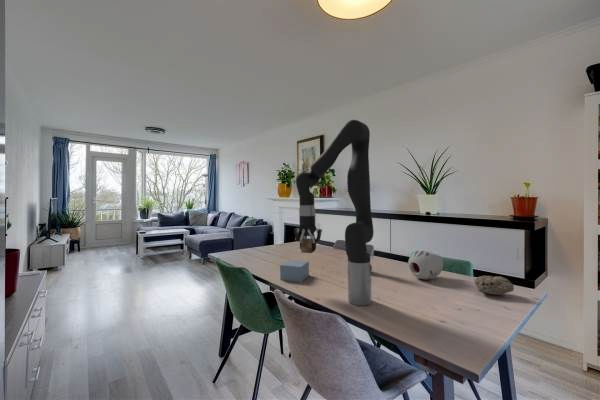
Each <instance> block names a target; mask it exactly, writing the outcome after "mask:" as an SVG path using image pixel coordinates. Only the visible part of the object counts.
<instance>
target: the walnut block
mask: <svg viewBox="0 0 600 400" xmlns="http://www.w3.org/2000/svg"><path fill="white" fill-rule="evenodd" d="M312 243H313V242H312V240H311V238H310V237H308V238H307V237H305V238H304V239H302V240H301V249H300V252H301V253H302V254H303V253H304V254H312V253H314V252H315V251H312Z"/></svg>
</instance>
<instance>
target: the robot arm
mask: <svg viewBox="0 0 600 400" xmlns="http://www.w3.org/2000/svg"><path fill="white" fill-rule="evenodd" d="M370 135H371V134H370V128H369V126H368V125H367V124H365V123H364V122H362V121H360V120H358V119H351V120H348V121H347V122H346V123H345V124H344V126H342V128H341V129H340V130H339V132H338V133H337V135H336V136H335V137H334V139H333V140H332V142H330V144H329V145H328V146H327V148H326V149H325V150H324V151H323V152H322V154H320V156H319V157H318V158H316V159H315V161H313V163H311V165H310V171H309V172H306V171H305V172H304V171H303V172H299V173H298V174H297V176H296V179H295V186H296V189H297V193H298V196H299V209H298V210H299V211H298V215H299V217H298V218H299V220H298V221H299V227H296V228H294V229H293V233H294V238H295V241H296V242H297V243H299V249H300V250H301V240H302V239H304V238H306V237H309V238H311V240H312V242H313V243H312V251H314V252H315V251H316V249H317V243H318V242H320V240H321V236H322V232H323V229H322V228H317V226H316V207H315V195H314V192H311V191H310V190H311V189H310V188H313V187H314V186H317V184H318V183H319V181H320V180H321V178H322V177H323V175H324V174H326V173H327V171H329V170H330V169H331V168H332V166H333V165H334V164H335V163H336V161H337V160H338V157H339V156H340V154H341V153H342V152H343V151H344V150H345V149H346V148H347V147H349V146H350V145H351V161H350V165H349V166H348V167H349V168H348V170H347V174H346V175H347V177H346V180H347V193H348V196H349V198H350V201H351V202H352V204H353V205H352V206H354V210H355V222H352V223H349V224H348V225H347V226H346V227H345V231H344V232H345V233H344V243H345V244H344V245H345V254H346V256H347V288H348V289H347V294H348V295H347V298H348V299H347V301H348V303H350V304H351V305H356V306H371V303H372V277H371V274H372V273H371V272H370V264H371V254H370V253H368V252H367V253H366V252H365V246H364V244H365V243H366V244H368V243H369V242H371V241H372V240H373V238H374V234H375V233H374V232H375V231H374V223H373V217H372V207H371V206H372V205H371V203H372V202H371V178H370V160H369V159H370V158H369V157H370V155H369V150H370ZM315 232H316V235H315ZM300 233H301V234H300Z"/></svg>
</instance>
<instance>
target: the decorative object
mask: <svg viewBox="0 0 600 400" xmlns="http://www.w3.org/2000/svg"><path fill="white" fill-rule="evenodd" d="M408 267H409V270H410V272H411V273H412V275H414V276H415V277H417V278H419V279H420V280H432V279H434V278H437V277H438V276H439V275H441V273H442V271H443V269H444V268H445V264H444V260H443V258H442V256H441V255H438V254H436V253H434V252H433V253H432V252H429V251H426V250H416V251H414V252H413V253H412V254H410V257H409V258H408Z"/></svg>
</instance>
